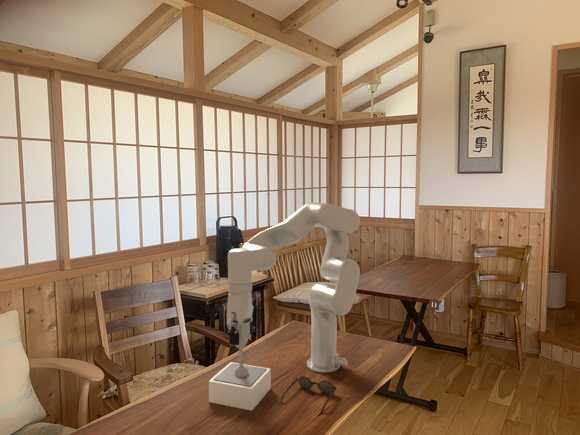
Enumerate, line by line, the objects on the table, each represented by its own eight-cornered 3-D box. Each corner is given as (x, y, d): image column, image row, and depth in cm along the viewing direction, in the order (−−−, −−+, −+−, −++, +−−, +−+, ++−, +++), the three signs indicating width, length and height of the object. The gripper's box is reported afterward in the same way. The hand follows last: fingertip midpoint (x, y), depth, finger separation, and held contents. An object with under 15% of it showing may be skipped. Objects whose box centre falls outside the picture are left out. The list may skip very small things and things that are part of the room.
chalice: (234, 380, 141) (233, 324, 139) (227, 371, 147) (225, 318, 145) (255, 375, 144) (254, 321, 143) (247, 367, 150) (246, 315, 149)
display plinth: (270, 388, 151) (270, 367, 150) (251, 410, 137) (251, 388, 136) (230, 381, 156) (230, 361, 155) (209, 402, 142) (208, 380, 141)
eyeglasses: (336, 395, 147) (336, 381, 147) (321, 418, 134) (321, 402, 133) (296, 386, 153) (296, 372, 153) (277, 407, 140) (277, 392, 139)
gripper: (241, 279, 152) (242, 328, 154) (216, 293, 136) (217, 347, 138) (261, 281, 150) (262, 330, 151) (238, 295, 133) (239, 350, 135)
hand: (241, 338), depth 145 cm, fingers open, 9 cm apart
